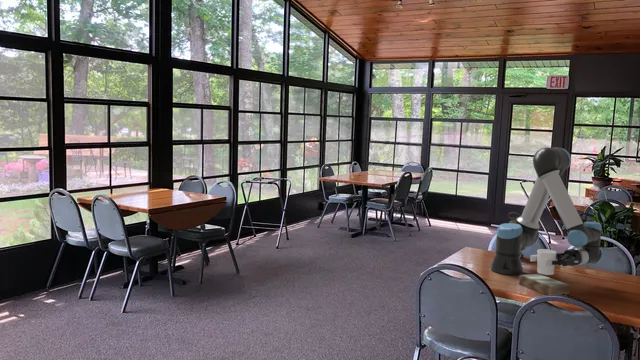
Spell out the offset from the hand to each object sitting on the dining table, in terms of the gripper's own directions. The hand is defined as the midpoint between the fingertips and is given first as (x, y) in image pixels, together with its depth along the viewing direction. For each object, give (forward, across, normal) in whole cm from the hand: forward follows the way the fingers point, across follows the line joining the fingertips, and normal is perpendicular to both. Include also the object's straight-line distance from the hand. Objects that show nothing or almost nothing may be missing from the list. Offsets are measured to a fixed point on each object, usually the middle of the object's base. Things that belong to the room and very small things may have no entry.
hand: (538, 260), depth 229 cm
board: (-5, 0, -13) cm, 14 cm away
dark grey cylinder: (-35, +51, -13) cm, 63 cm away
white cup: (-5, 0, -6) cm, 8 cm away
